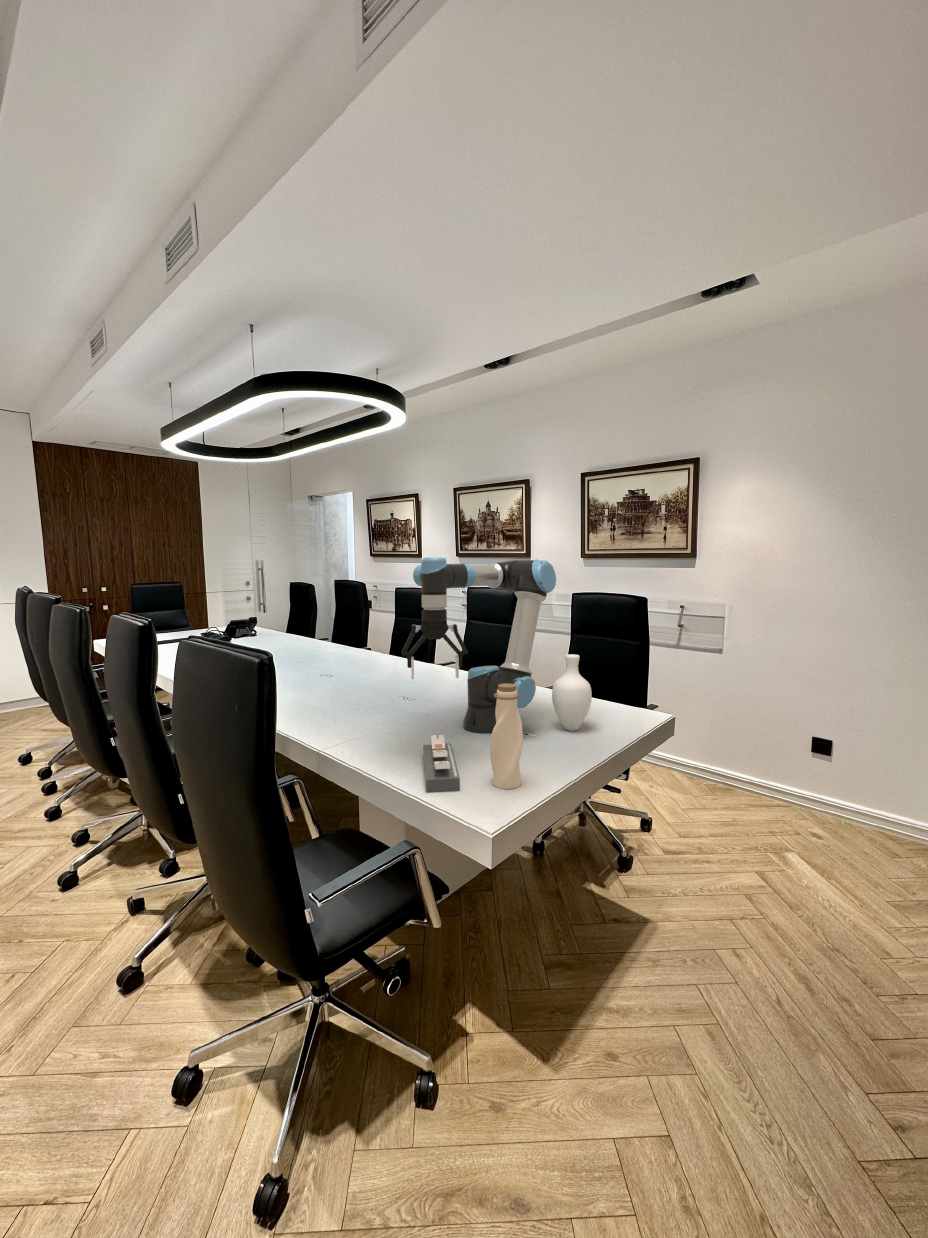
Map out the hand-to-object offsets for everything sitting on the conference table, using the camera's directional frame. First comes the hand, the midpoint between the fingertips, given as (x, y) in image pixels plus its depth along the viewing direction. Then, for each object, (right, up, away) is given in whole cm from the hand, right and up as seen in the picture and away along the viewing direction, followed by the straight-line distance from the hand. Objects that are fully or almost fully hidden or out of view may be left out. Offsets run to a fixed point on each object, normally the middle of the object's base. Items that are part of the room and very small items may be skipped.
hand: (435, 677), depth 160 cm
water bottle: (+21, -28, -13) cm, 37 cm away
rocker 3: (+3, -23, -14) cm, 27 cm away
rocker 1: (+1, -21, +4) cm, 21 cm away
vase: (+49, -23, +34) cm, 64 cm away
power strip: (+1, -27, 0) cm, 27 cm away
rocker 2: (+2, -22, -5) cm, 23 cm away
